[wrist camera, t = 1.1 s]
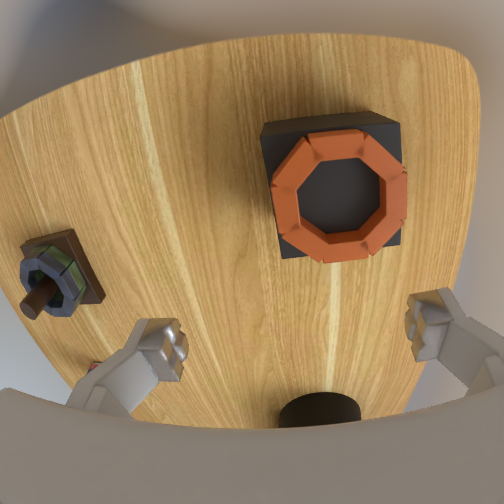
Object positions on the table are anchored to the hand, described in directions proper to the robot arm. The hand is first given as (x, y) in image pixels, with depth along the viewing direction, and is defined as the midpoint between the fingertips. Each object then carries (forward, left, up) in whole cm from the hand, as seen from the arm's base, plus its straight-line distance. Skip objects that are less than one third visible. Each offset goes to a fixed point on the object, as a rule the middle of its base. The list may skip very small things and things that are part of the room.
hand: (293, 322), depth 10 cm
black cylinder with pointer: (+40, 0, -16) cm, 43 cm away
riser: (0, +3, -16) cm, 16 cm away
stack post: (+6, -27, -16) cm, 32 cm away
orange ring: (0, +3, -10) cm, 11 cm away
